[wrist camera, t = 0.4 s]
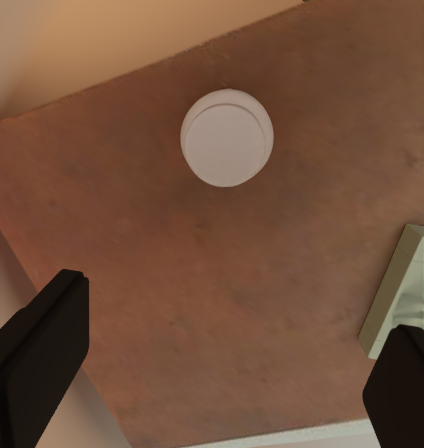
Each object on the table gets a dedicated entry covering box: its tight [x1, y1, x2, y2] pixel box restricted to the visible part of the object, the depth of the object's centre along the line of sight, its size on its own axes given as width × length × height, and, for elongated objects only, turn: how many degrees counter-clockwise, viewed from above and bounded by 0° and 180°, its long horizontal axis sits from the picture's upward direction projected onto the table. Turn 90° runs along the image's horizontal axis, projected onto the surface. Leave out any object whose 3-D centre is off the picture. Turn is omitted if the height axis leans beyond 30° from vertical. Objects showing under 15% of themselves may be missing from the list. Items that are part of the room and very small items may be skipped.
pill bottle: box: [180, 88, 274, 187], centre depth 24 cm, size 6×6×11 cm
